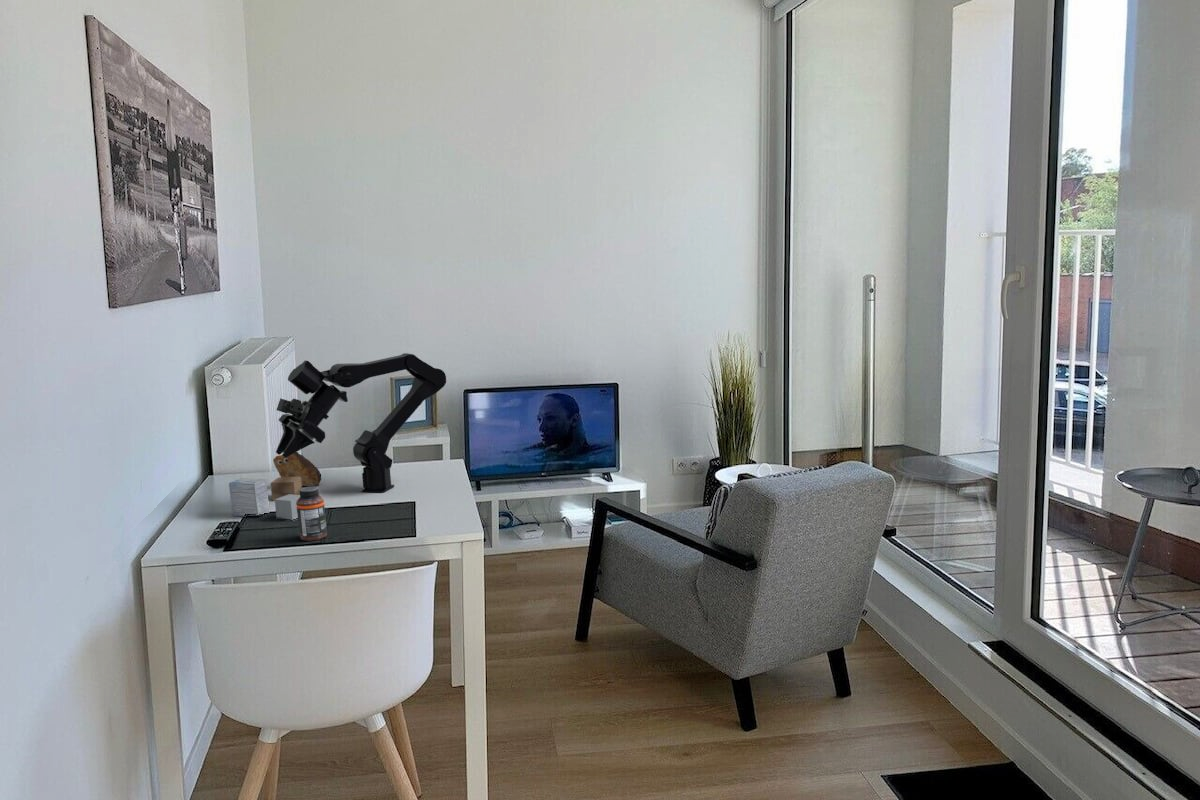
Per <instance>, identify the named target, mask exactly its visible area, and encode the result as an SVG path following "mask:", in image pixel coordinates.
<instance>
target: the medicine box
mask: <svg viewBox="0 0 1200 800" xmlns="http://www.w3.org/2000/svg"><path fill="white" fill-rule="evenodd" d="M228 487H229V495H230V496H229V497H230V504H231V513H232V516H233V517H244V516H243V515H245V514H256V515H259V514H264V513H268V514H269V513H271V512H270V511H271V510H270V504H269V497H268V487H267V479H264V478H242V477H241V478H237V479H234V480H232V481H230V482H228Z"/></svg>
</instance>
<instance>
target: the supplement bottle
mask: <svg viewBox="0 0 1200 800" xmlns="http://www.w3.org/2000/svg"><path fill="white" fill-rule="evenodd" d="M296 505H297V515H298V519H297V522H298V523H297V524H298V533H299V538H300V540H302V541H307V542H312V541H319V540H322V539H324V538H325V537H327V535H328V528H327V518H326V517H327V516H326V510H325V508H326V507H325V500H324V497H323V496H321V495H320V493H319V488H318V486H304V487H302V489H300V498H299V499H298V500H297V502H296Z"/></svg>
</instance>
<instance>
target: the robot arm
mask: <svg viewBox="0 0 1200 800" xmlns="http://www.w3.org/2000/svg"><path fill="white" fill-rule="evenodd" d="M405 370H406V371H407V373H408V374H410V375H411V376H412V377H414V378H413V380H412V384H411V387H410V388H409V391H408V392H407V393H406V394H405V395H404V397H403V398H402V399H401V400H400V401H399V403H398V404H397V405H396V406H395V408H393V409H392V410H391V412H389V414H388V415H387V416H386V418H384V420H382V422H381V423H380V424H379V425H378V426H377V427H376V429H374V430H373V431H372V430H371V431H370V430H366V429H365V430H364V431H363V432H362V433H361V435H360V436H359V437H358V438H357V439H355V440H354V442H355V444H354V445H353V449H352V451H353V452H352V453H353V457H354V458H355V459H356V460H358V461H359V462H360V464H361V466H363V468H362V469H363V470H362V473H361V475H362V476H361V477H362V478H361V479H362V488H363V489H361V492H362V493H364V492H365V493H385V492H387V491H389V490H391V489H392V488H394V487H395V484H392V479H391V468H392V464H393V460H394V459H392V458H390V456H389V455H387V454H386V452H387V451H388V448H389V446H390V445H389V444H390V442H391V439H392V438H393V437H394V436H395V435H396V434H397V432H398V431H399V430H400V429H401V428H402V427H403V425H404V424H405V423H406V422H407V421H408V419H410V418H411V416H412V415H413V414H414V413H415V411H416V410H417V409H418V408H419V406H421V405H422V404H423V402H424V401H425V400H427V399H429V398H430V397H431V398H432V396H434V395H436V394H437V393H438V392H439V391H441V390H442V389H443V388H444V387H445V386H446V384H447V375H446V373H445V372H444V371H443V370H442V369H440V368H436V367H433V366H432V365H430V364H428V363H427V362H425V361H423V360H422V359H420V358H419V357H417V355H415V354H412V353H409V352H407V353H405V352H404V353H402V354H399V355H394V356H390V357H386V358H381V359H376V360H372V361H368V362H367V361H366V362H363V363H361V362H360V363H358V362H357V363H350V362H349V363H346V362H345V363H335V364H333V365H332V366H331V367H330V369H327V370H322V371H320V369H317V368H316V367H315V366H314V365H313V364H312V363H311V362H310V361H309V360H304V361H303V362H301V364H299V365H297V367H294V368H293V369H292V371H290V373H289V375H288V377H287V381H288V382H290V383H291V384H292V385H293V386H295V387H296V388H297V389H298V390H300V391H301V392H302V393H303V394H305V395H308V394H311V395H312V396H311V397H310V398H309V399H308V401H307V400H305V401H302V400H300V399H297V398H292V399H291V400H288V399H283V398H279V401H278V404H277V407H276V411H278V412H281V413H283V414H282V415H281V416H280V417H279V418H278V422H279V423H281V427H282V430H283V433H282V435H281V438H280V440H279V443H278V445H277V447H276V450H275V453H276V454H277V455H278V456H280V455H282V456H284V457H285V458H286V457H288V456H290V455H292V454H293V453H295V452H299V451H301V450H302V449H305V448H306V447H309V446H310V445H312V444H315V443H316V442H317V443H319V444H322V443H323V441H324V440H325V438H326V431H324V430H323V429H321V428H320V427H319V425H320V424H321V423H322V422H323V420H328V418H329V412H330V411H331V410H332V408H333V407H334V406H335V405H336V404H337V402H338V401H341V402H345V403H348V396H347V395H348V394H347V393H348V392H347V391H345V390H340V389H339V388H337V387H342V388H347V389H348V388H351V387H354V386H356V385H358V384H361V383H362V382H364V381H366V380H368V379H370V378H374V377H379V376H382V375H383V376H384V375H387V374H392V373H397V372H400V371H405ZM327 382H329V383H331V384H330V385H328V384H327ZM336 386H337V387H336ZM314 439H315V441H314Z"/></svg>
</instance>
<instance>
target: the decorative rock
mask: <svg viewBox="0 0 1200 800" xmlns="http://www.w3.org/2000/svg"><path fill="white" fill-rule="evenodd" d="M272 459H273V461H272V462H273V464H274V467H275V469H276V470H277V472H278V474H279V477H300V476H301V483H302V487H318V486H319V485H320V483H321V481H322V473H321V472H320V470H319V468H318V467H317V466H315V464H314V463H312V461H311V460H309V459H308V458H306V457H305V456H304V455H303V454H300V453H299V451H297V452H295V453H293V454H292V455H290V456H288V457H286V458H285V457H284V456H282V454H280V455H276V456H275V457H274V458H272Z"/></svg>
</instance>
